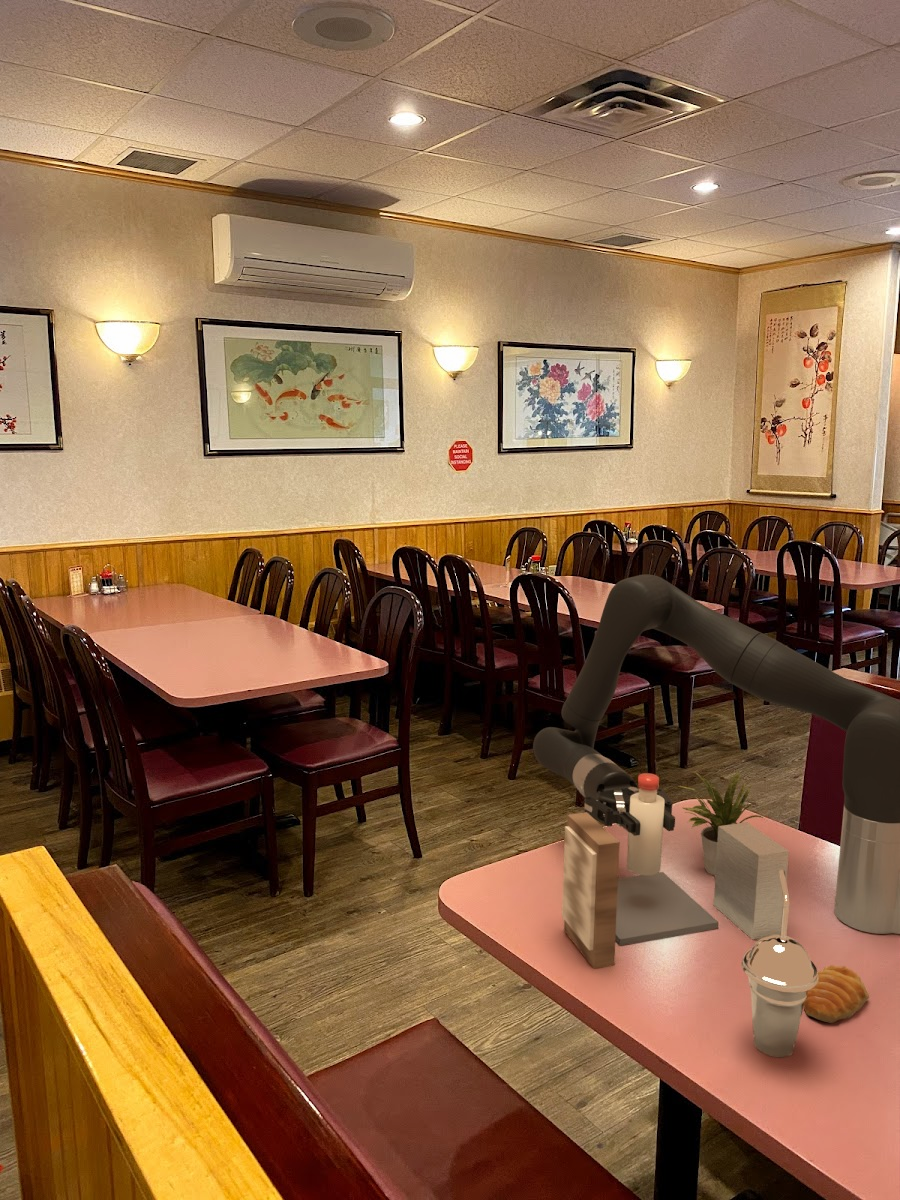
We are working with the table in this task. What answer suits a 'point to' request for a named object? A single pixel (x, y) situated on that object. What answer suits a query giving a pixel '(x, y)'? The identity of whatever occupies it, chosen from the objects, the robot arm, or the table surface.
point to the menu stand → (590, 888)
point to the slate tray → (656, 910)
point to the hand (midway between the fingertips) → (655, 827)
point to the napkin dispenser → (749, 879)
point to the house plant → (717, 817)
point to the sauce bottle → (646, 827)
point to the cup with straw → (778, 986)
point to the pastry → (835, 994)
